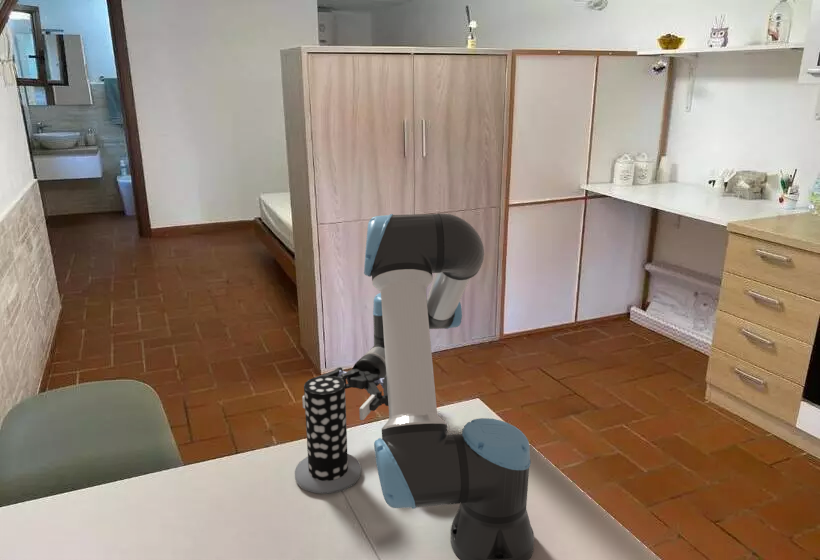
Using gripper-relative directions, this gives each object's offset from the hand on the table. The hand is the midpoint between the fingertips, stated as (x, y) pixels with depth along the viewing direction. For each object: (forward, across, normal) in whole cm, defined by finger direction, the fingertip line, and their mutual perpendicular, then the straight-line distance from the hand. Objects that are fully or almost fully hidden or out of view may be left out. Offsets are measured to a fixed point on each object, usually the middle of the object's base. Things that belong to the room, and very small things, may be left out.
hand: (332, 408), depth 134 cm
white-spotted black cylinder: (+3, 0, -13) cm, 13 cm away
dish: (+4, 0, -14) cm, 15 cm away
